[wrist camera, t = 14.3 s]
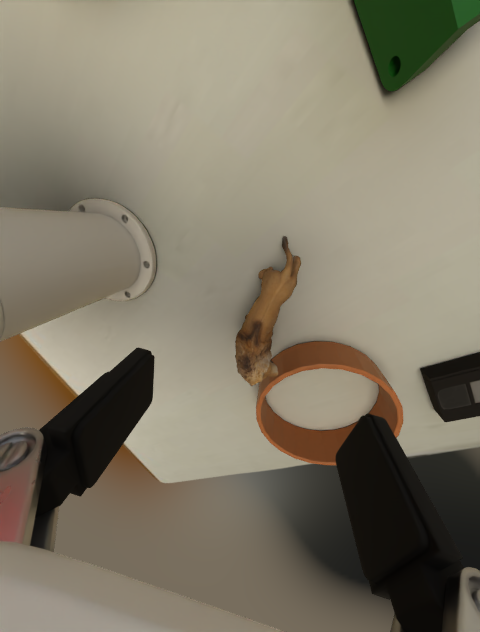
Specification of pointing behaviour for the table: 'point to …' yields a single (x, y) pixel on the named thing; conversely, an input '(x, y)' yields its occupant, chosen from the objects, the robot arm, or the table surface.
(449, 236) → the table surface
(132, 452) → the table surface
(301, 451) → the basin
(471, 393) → the vhs tape
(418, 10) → the green bracket
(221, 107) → the table surface
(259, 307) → the lion figurine
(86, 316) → the table surface
